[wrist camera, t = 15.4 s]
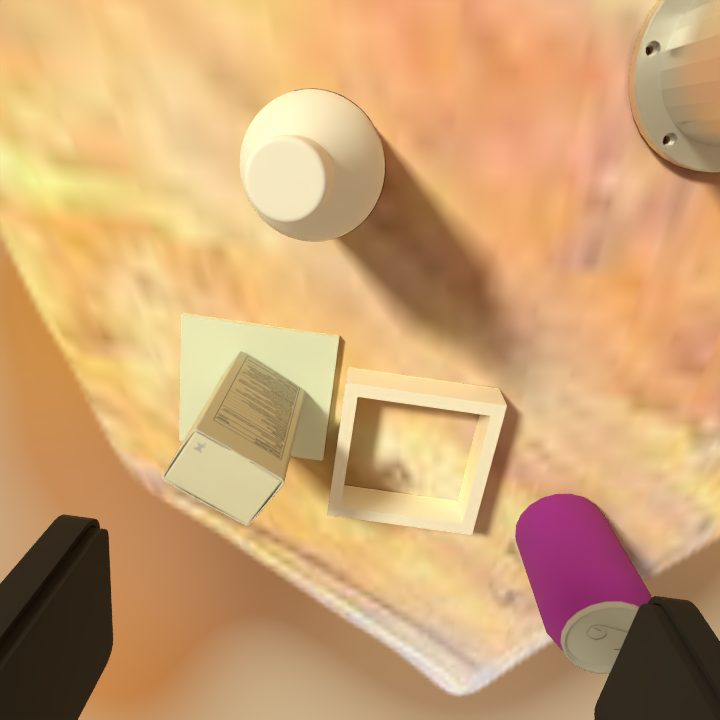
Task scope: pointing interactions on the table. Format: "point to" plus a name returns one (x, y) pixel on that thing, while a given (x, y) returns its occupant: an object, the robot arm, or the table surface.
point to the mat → (270, 347)
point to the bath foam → (312, 165)
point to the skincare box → (240, 441)
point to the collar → (409, 506)
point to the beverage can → (580, 579)
